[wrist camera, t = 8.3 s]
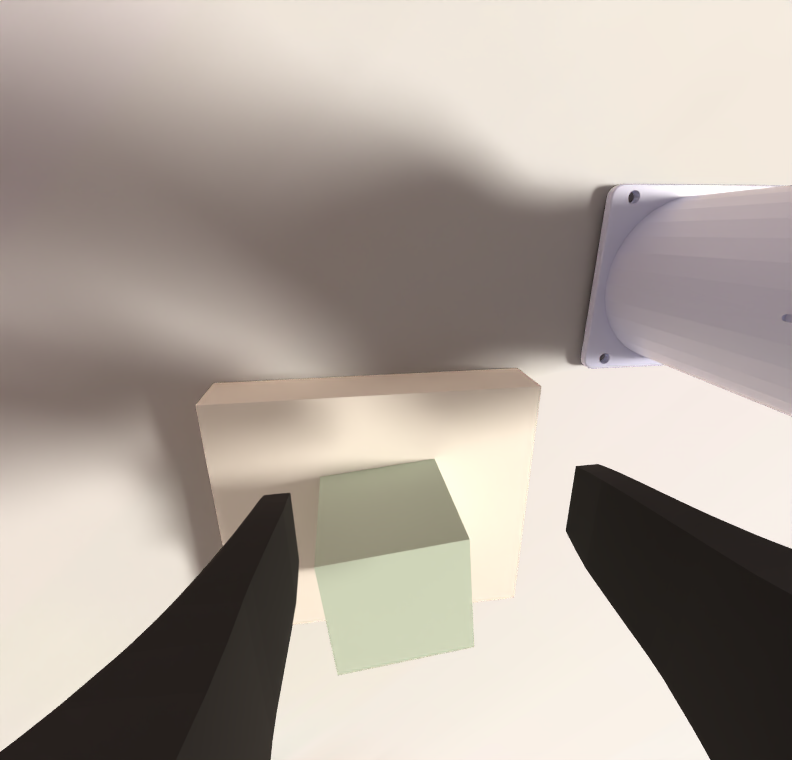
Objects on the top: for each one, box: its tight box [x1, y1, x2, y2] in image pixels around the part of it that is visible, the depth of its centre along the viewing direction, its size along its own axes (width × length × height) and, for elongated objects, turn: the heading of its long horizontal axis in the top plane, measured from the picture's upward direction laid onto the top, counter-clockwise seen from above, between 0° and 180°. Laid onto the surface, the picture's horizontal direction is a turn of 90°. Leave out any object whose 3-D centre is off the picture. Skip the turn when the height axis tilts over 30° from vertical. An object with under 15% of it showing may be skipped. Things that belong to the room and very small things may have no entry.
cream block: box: [195, 368, 541, 625], centre depth 20 cm, size 14×12×3 cm
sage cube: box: [314, 459, 474, 675], centre depth 16 cm, size 5×5×5 cm
